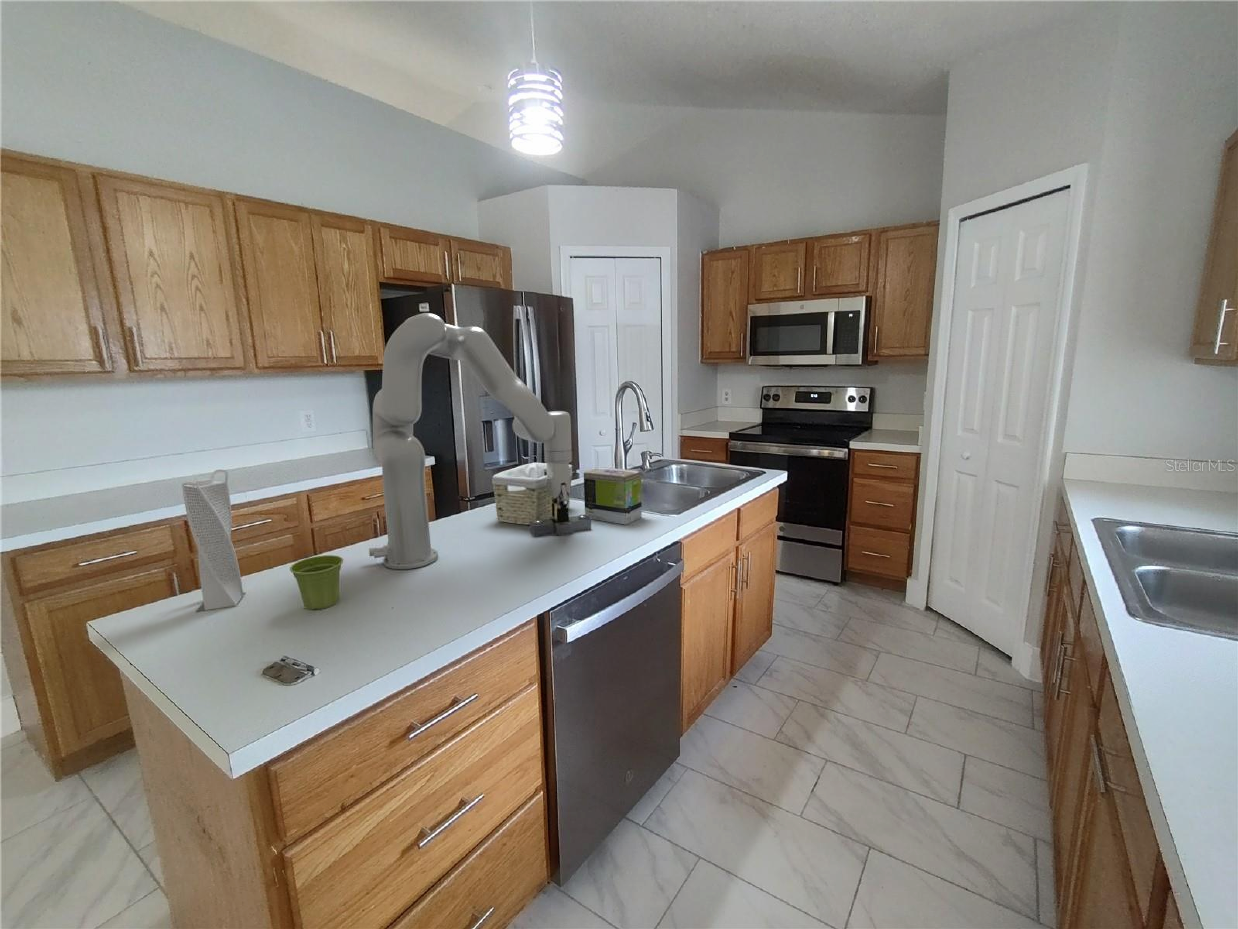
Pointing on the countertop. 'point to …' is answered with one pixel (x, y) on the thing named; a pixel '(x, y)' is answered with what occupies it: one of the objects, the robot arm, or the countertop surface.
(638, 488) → the tea box
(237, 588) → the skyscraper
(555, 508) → the brass pin
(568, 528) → the grey metal bracket
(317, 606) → the plant pot
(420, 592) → the countertop surface
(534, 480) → the storage basket
